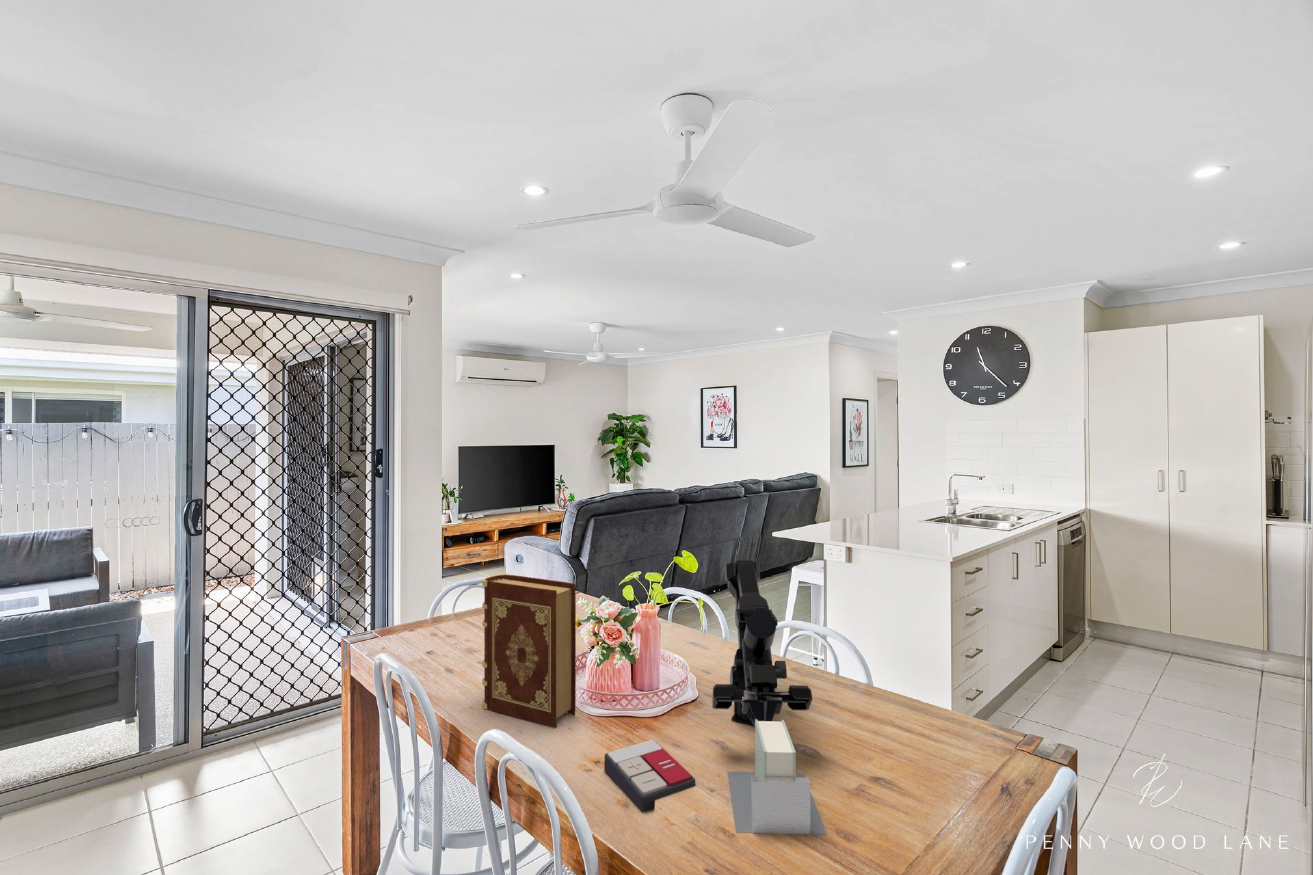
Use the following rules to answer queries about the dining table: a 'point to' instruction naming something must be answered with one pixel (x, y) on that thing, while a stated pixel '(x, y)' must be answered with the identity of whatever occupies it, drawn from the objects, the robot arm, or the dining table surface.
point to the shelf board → (742, 804)
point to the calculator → (646, 773)
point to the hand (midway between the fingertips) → (765, 744)
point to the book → (773, 750)
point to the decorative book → (529, 647)
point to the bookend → (780, 805)
